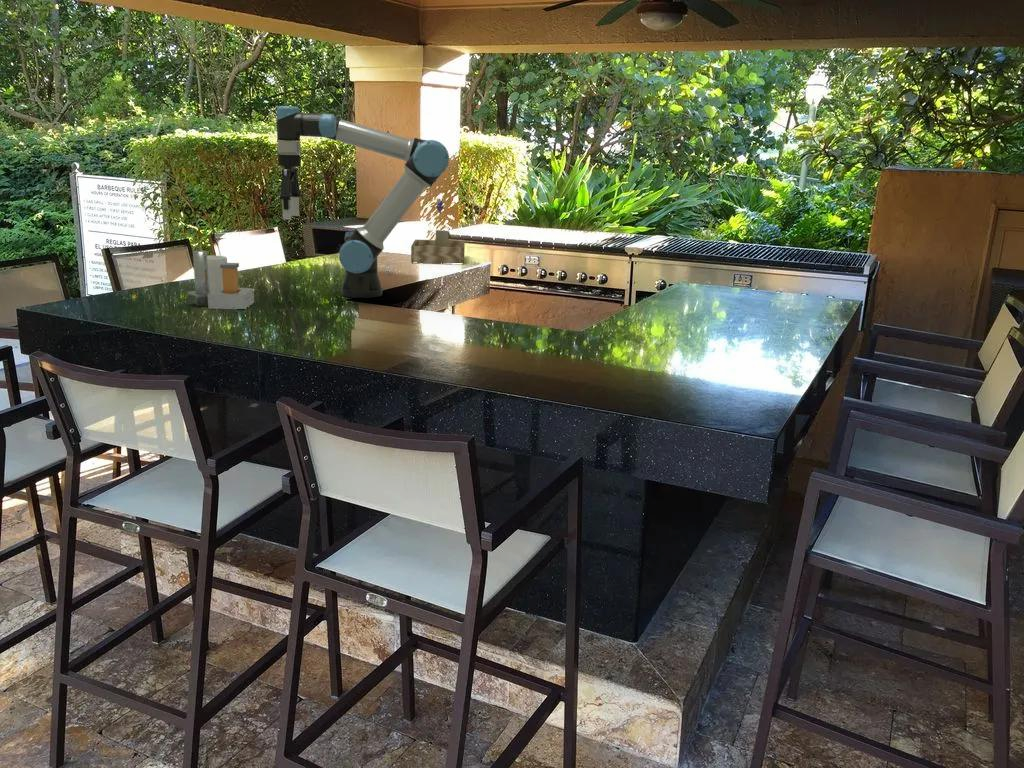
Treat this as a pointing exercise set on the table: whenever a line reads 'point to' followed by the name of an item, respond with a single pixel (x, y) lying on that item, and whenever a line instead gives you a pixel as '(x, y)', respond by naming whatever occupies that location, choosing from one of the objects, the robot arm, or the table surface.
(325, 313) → the table surface
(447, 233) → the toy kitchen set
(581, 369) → the table surface
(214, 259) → the foam cup
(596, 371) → the table surface
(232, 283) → the wedge pin
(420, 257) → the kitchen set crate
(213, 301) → the grey angular stepped piece
